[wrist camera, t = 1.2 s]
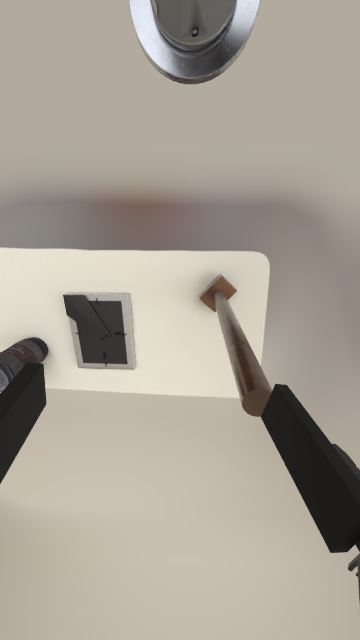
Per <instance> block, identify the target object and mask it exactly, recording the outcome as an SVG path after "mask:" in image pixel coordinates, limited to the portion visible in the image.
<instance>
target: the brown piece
mask: <svg viewBox="0 0 360 640" xmlns="http://www.w3.org/2000/svg"><path fill="white" fill-rule="evenodd" d="M236 291H237V290H236V289H235V288H234V287H233V286H232V285H231V284H230V283H229V282H228V281H227V280H226V279H225V278H224V277H223V276H222V275H221V274H220V275H219V276H218V277H217V278H216V279H215V280H214V281H213V282H212V283H211V284H210V285H209V286H208V287H207V288H206V289H205V290H204V291H203V293H202V294H201V295H200V299H201V300H202V301H203V302H204V303H205V304H206V305H207V306H209V307H210V308H211V309H212V310H213V311H214V312H216V311H217V315H218V318H219V322H220V326H221V329H222V333H223V337H224V340H225V344H226V348H227V351H228V355H229V359H230V362H231V366H232V370H233V374H234V377H235V381H236V385H237V388H238V392H239V396H240V399H241V403H242V407H243V409H244V410H245V411H246V412H247V413H248V414H250V415H252V416H257V417H259V416H261V415H262V413H263V411H264V408H265V406H266V404H267V402H268V400H269V397H270V395H271V393H272V389H271V387H270V385H269V383H268V381H267V379H266V377H265V375H264V373H263V371H262V369H261V367H260V365H259V363H258V361H257V359H256V357H255V355H254V353H253V351H252V349H251V347H250V345H249V343H248V341H247V339H246V337H245V335H244V333H243V331H242V329H241V327H240V325H239V322H238V320H237V318H236V316H235V314H234V312H233V310H232V308H231V306H230V304H229V302H228V299H229V298H230V297H231V296H232V295H233V294H234V293H235V292H236Z"/></svg>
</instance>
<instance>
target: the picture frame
mask: <svg viewBox="0 0 360 640" xmlns="http://www.w3.org/2000/svg"><path fill="white" fill-rule="evenodd" d="M63 297H64V302H65V308H66V313H67V315H68V316H69V320H70V325H71V331H72V336H73V342H74V347H75V352H76V358H77V363H78V368H98V369H131V370H134V369H135V367H136V358H135V347H134V335H133V323H132V311H131V300H130V293H67V294H65V295H63Z"/></svg>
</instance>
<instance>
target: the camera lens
mask: <svg viewBox="0 0 360 640" xmlns="http://www.w3.org/2000/svg"><path fill="white" fill-rule="evenodd" d="M47 354H48V347H47V345H46V344H45V342H44V341H42V340H41V339H39V338H28V339H24V340H22V341H19V342H17V343H16V344H14V345H12V346H11V347H9V348H8V349H6V350H4V351H3V352H0V392H2V391H3V390H4V389H5V388H6V386H7V385H8V384H9V383H10V382H11V381H12V379H13V378H14V377H15V376H16V375H17V374H18V372H19V371H20V370H21V369H22V368H23V367H24V366H25V364H26V363H27V362H29V363H41V362H42V361H43V360H44V359H45V357H46V356H47Z"/></svg>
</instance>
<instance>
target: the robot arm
mask: <svg viewBox="0 0 360 640" xmlns="http://www.w3.org/2000/svg"><path fill="white" fill-rule="evenodd" d="M150 2H151V7H152V11H153V15H154V18H155V21H156V24H157V26H158V28H159V30H160V31H161V33H162V34H163V36H164V37H165V38H166V39H167V40H168V41H169V42H170V43H171V44H173V45H174V46H176V47H178V48H180V49H183V50H187V51H196V50H200V49H203V48H206V47H208V46H209V45H211V44H212V43H214V42H215V41H216V40H217V39H218V38H219V37H220V36H221V35H222V34H223V32H224V31H225V30H226V28H227V26H228V25H229V23H230V21H231V19H232V16H233V14H234V11H235V8H236V4H237V0H150ZM45 405H46V392H45V379H44V365H43V364H40V363H29V362H27V363H26V364H25V366H24V367H23V368H22V369H21V370H20V371H19V372H18V374H17V375H16V376H15V377H14V378H13V379H12V381H11V382H10V383H9V384H8V385H7V386H6V388H5V389H4V390H3V391H2V392H1V393H0V483H1V482H2V480H3V478H4V476H5V475H6V473H7V471H8V470H9V468H10V466H11V464H12V463H13V461H14V459H15V457H16V456H17V454H18V452H19V450H20V449H21V447H22V445H23V444H24V442H25V440H26V438H27V437H28V435H29V433H30V431H31V429H32V428H33V426H34V424H35V423H36V421H37V419H38V417H39V416H40V414H41V412H42V411H43V409H44V407H45ZM261 418H262V420H263V422H264V424H265V426H266V428H267V430H268V432H269V434H270V436H271V438H272V440H273V442H274V444H275V446H276V448H277V450H278V451H279V453H280V455H281V457H282V459H283V461H284V463H285V465H286V467H287V469H288V471H289V473H290V475H291V477H292V478H293V480H294V483H295V484H296V486H297V488H298V490H299V492H300V494H301V496H302V498H303V500H304V502H305V504H306V506H307V508H308V510H309V512H310V514H311V516H312V517H313V519H314V521H315V523H316V525H317V527H318V529H319V531H320V533H321V535H322V537H323V539H324V541H325V543H326V545H327V547H328V549H329V551H330V552H331V553H339V552H348V551H349V550H350V549H351V548H352V547H353V546H354V545H356V546H357V548H358V550H359V551H360V470H359V468H357V467H356V465H355V463H354V462H353V461H352V460H351V458H350V457H349V456H348V455H347V454H346V453H345V452H344V451H343V450H342V449H341V448H340V447H339V446H337V445H336V444H331V442H330V441H329V440H328V439H327V437H326V436H325V435H324V433H323V432H322V431H321V429H320V428H319V427H318V425H317V424H316V423H315V422H314V420H313V419H312V418H311V417H310V415H309V414H308V412H307V411H306V410H305V408H304V407H303V406H302V404H301V403H300V402H299V400H298V399H297V398H296V397H295V395H294V394H293V393H292V391H291V390H290V389H289V387H288V386H287V385H280V384H275V386H274V388H273V391H272V393H271V395H270V397H269V400H268V402H267V404H266V406H265V408H264V411H263V413H262V415H261ZM357 566H358V572H357V573H356V576H358V581H359V599H360V554H359V555H358V556H357V557H356V558H354V559H353V560H352V561H351V562H350V563H349V566H348V570H349V571H352V570H353V569H354V568H355V567H357Z"/></svg>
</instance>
